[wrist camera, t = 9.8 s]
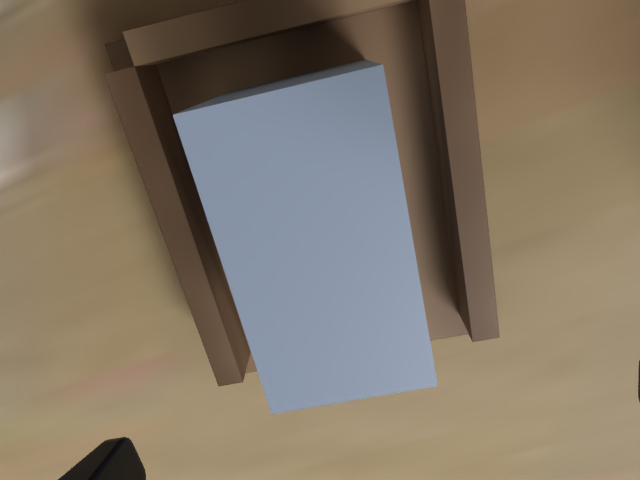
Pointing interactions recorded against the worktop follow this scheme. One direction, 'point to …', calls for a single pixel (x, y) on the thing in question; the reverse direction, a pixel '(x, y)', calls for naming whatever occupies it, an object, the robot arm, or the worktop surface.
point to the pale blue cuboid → (314, 234)
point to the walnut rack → (297, 59)
